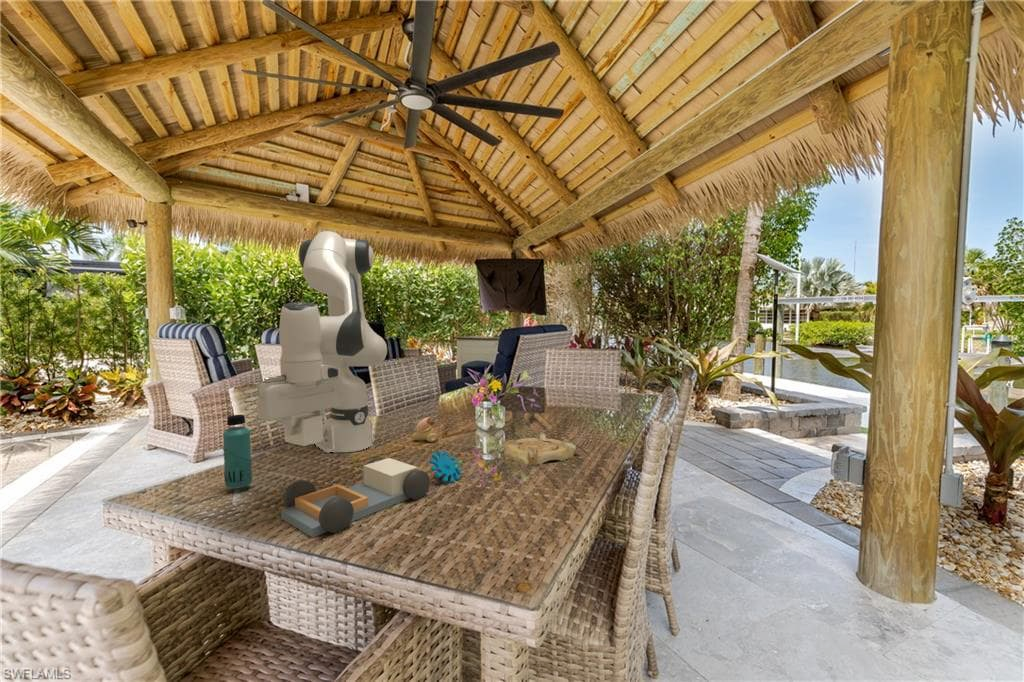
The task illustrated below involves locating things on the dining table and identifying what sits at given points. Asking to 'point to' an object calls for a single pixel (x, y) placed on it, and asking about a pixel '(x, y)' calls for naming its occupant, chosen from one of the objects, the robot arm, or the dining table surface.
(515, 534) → the dining table surface
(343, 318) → the robot arm
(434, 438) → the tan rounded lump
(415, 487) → the chassis
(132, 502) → the dining table surface
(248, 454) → the beverage bottle
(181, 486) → the dining table surface
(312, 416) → the block
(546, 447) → the ashtray
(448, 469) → the gear
